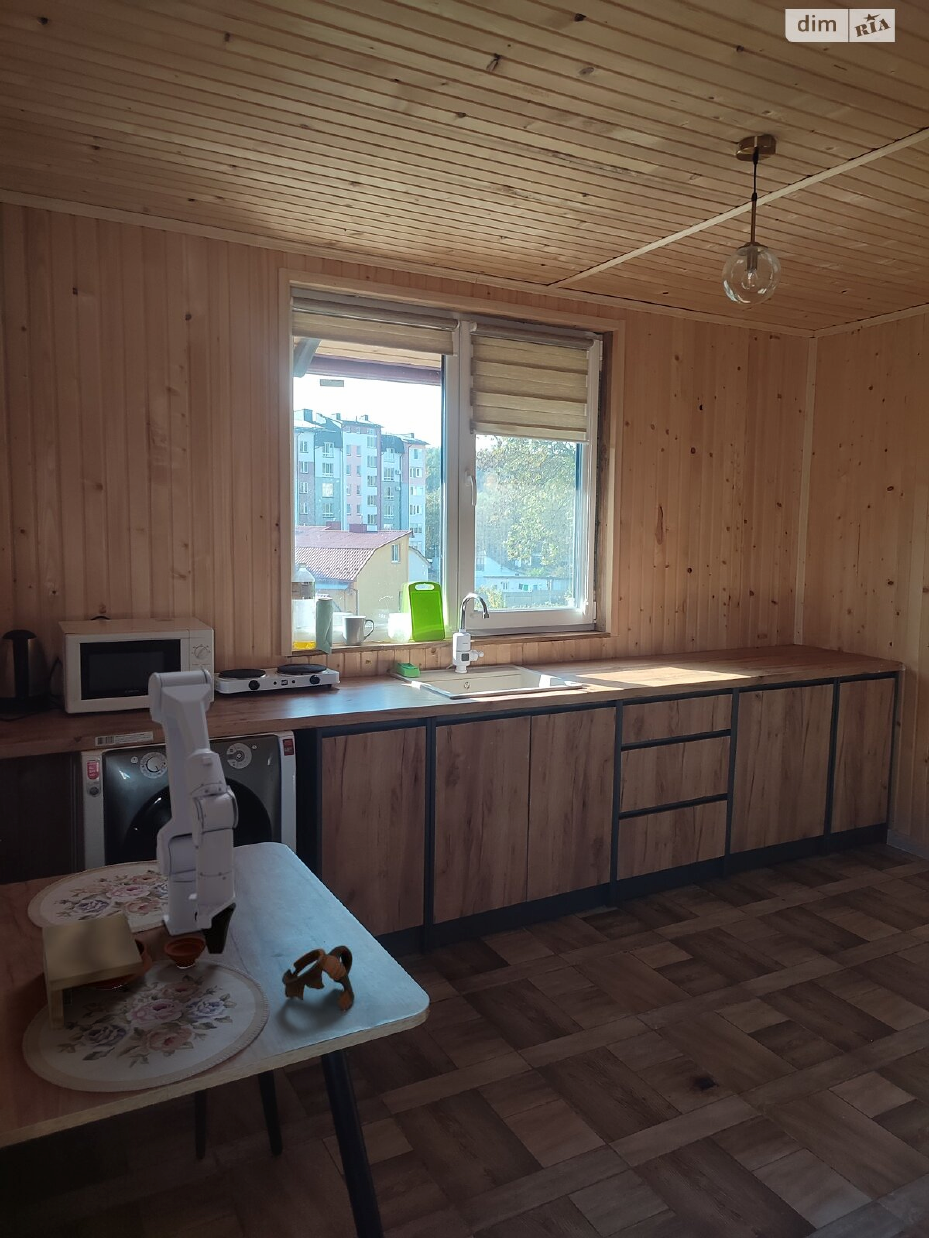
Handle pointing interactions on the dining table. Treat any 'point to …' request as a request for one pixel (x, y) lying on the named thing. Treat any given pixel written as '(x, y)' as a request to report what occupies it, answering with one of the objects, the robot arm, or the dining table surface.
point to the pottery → (178, 951)
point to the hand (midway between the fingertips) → (216, 951)
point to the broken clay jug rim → (314, 974)
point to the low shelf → (86, 957)
